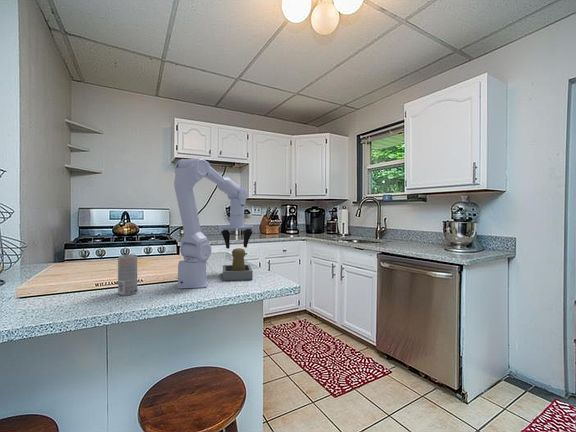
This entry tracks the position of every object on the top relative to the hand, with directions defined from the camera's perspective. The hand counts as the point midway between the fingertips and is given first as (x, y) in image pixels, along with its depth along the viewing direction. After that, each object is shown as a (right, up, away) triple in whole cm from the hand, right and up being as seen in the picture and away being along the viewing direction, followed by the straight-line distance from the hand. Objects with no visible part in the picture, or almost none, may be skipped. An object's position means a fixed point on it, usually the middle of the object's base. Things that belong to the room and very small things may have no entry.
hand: (236, 247), depth 119 cm
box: (+1, -11, -6) cm, 13 cm away
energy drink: (-29, -11, -29) cm, 43 cm away
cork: (+2, -11, -7) cm, 13 cm away
